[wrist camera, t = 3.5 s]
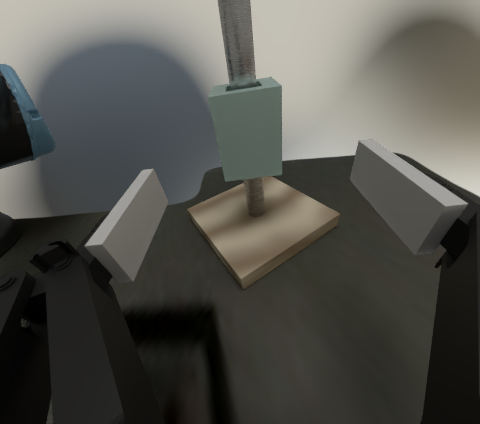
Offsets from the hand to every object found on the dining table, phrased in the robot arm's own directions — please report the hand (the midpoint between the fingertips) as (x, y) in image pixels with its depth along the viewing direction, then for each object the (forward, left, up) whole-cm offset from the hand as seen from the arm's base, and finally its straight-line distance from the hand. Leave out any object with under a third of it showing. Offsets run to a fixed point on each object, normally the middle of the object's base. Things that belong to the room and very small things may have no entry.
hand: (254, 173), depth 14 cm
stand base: (-8, +5, -13) cm, 16 cm away
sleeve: (-8, +5, -4) cm, 11 cm away
